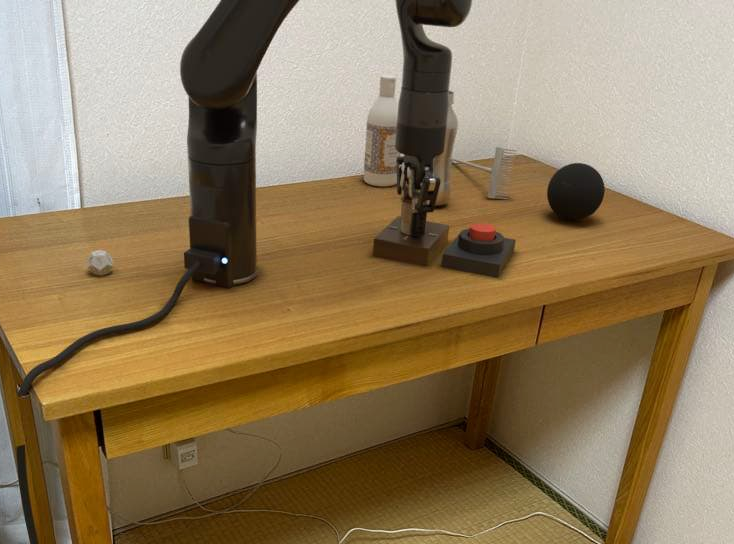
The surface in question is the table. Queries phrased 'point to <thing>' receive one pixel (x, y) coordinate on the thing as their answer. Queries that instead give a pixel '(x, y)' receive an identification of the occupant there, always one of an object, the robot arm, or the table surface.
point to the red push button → (482, 232)
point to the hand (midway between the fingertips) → (412, 229)
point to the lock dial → (407, 217)
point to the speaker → (575, 191)
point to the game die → (100, 262)
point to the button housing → (478, 254)
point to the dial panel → (410, 243)
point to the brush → (495, 171)
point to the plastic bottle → (446, 156)
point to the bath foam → (382, 137)
